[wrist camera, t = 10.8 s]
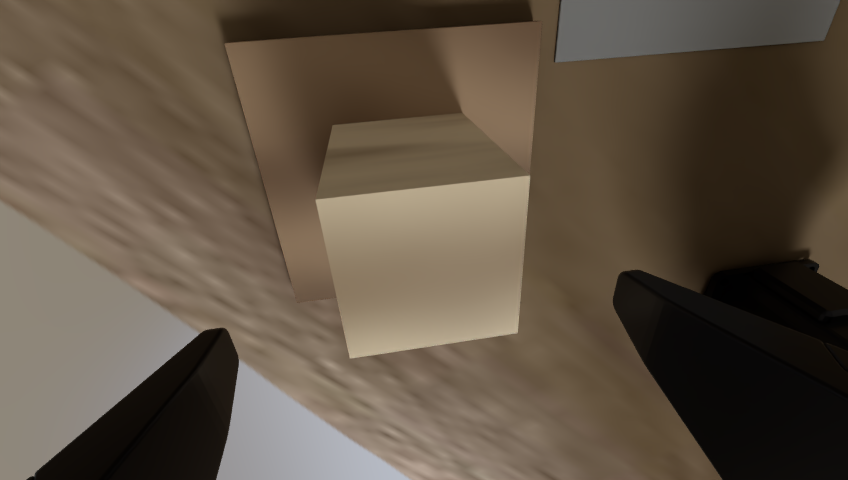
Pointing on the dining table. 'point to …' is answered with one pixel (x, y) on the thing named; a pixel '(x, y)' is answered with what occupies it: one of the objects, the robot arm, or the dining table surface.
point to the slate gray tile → (684, 25)
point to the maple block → (422, 232)
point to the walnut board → (372, 109)
